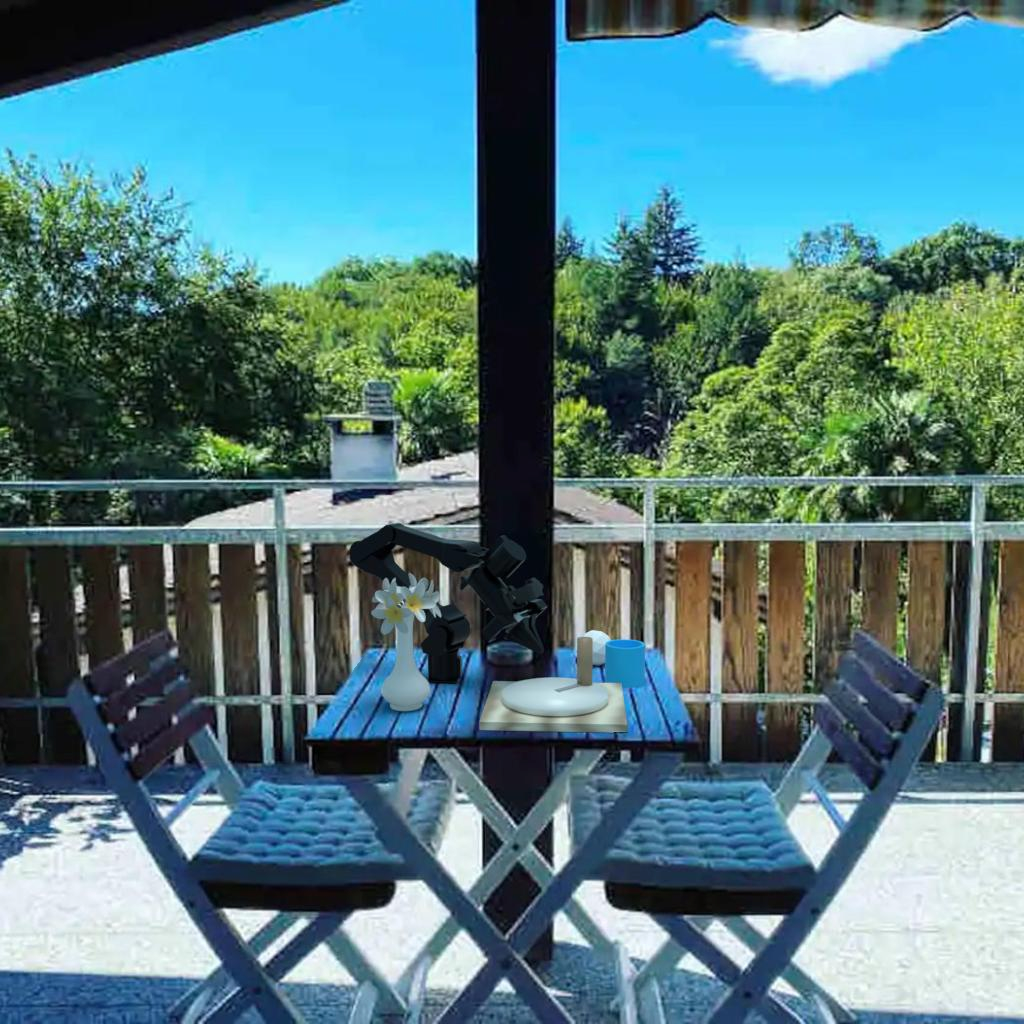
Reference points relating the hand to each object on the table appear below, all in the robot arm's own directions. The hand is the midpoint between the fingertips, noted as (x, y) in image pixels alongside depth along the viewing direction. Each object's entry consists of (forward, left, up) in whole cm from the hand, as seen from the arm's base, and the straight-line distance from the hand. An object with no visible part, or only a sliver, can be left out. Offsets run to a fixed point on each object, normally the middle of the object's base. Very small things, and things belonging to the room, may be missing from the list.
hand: (542, 652), depth 192 cm
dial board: (+3, -9, -9) cm, 13 cm away
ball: (+11, +24, -9) cm, 27 cm away
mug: (+17, +12, -9) cm, 22 cm away
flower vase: (-25, -10, -9) cm, 29 cm away
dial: (+3, -9, -7) cm, 12 cm away
